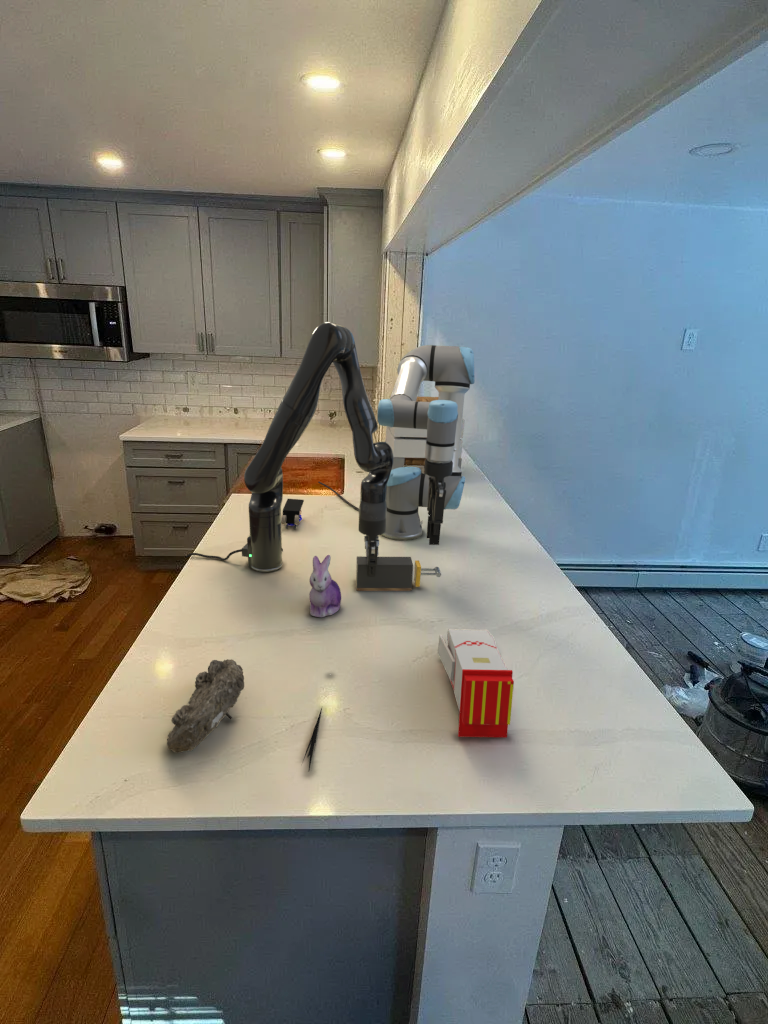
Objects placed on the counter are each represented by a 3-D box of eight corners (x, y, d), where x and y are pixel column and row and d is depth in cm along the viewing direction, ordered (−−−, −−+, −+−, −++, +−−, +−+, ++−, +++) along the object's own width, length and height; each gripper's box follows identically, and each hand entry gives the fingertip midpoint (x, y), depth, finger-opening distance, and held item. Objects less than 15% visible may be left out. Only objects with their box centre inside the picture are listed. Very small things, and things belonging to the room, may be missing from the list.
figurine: (314, 622, 141) (314, 568, 136) (300, 603, 150) (300, 551, 145) (349, 614, 146) (350, 561, 141) (333, 597, 154) (334, 546, 149)
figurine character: (300, 535, 198) (304, 515, 212) (299, 515, 195) (304, 497, 208) (280, 534, 198) (286, 515, 211) (279, 515, 195) (286, 496, 208)
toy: (488, 613, 130) (523, 677, 101) (484, 667, 133) (517, 744, 104) (435, 612, 130) (455, 676, 101) (432, 666, 133) (451, 743, 103)
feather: (331, 679, 122) (336, 673, 122) (307, 777, 96) (313, 769, 95) (324, 675, 122) (329, 669, 121) (298, 772, 95) (304, 764, 95)
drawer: (437, 580, 165) (439, 560, 163) (440, 587, 161) (442, 566, 159) (367, 579, 163) (368, 560, 161) (368, 586, 159) (369, 566, 157)
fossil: (192, 660, 117) (244, 628, 112) (224, 691, 120) (276, 661, 115) (142, 746, 98) (202, 712, 93) (182, 779, 101) (242, 748, 96)
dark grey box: (409, 581, 165) (410, 556, 163) (411, 590, 160) (413, 564, 157) (355, 581, 164) (356, 556, 161) (356, 590, 159) (357, 564, 156)
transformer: (382, 463, 289) (386, 382, 275) (445, 464, 293) (451, 384, 279) (390, 482, 257) (394, 392, 243) (460, 483, 261) (468, 394, 247)
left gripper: (388, 525, 148) (385, 583, 154) (384, 506, 161) (381, 560, 167) (359, 524, 147) (358, 583, 153) (357, 506, 161) (356, 560, 166)
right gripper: (459, 468, 143) (451, 553, 151) (447, 452, 159) (440, 530, 167) (430, 468, 142) (423, 553, 150) (420, 451, 158) (415, 529, 166)
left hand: (370, 571), depth 160 cm, fingers closed on dark grey box, 5 cm apart
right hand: (432, 541), depth 158 cm, fingers open, 4 cm apart
